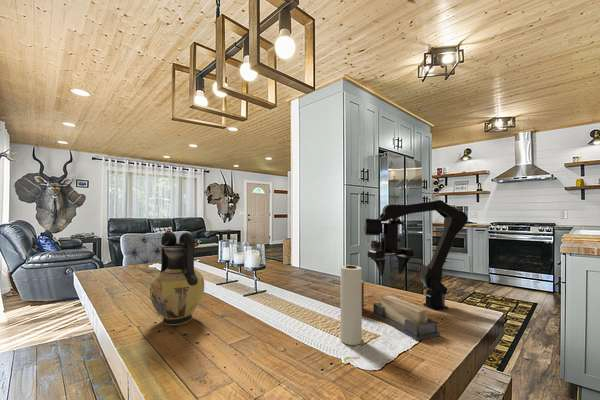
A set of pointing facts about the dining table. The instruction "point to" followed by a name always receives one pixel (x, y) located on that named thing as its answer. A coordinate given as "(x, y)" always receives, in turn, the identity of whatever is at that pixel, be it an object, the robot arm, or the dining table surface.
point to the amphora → (177, 280)
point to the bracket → (408, 325)
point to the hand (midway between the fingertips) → (390, 274)
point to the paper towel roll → (351, 304)
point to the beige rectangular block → (403, 310)
